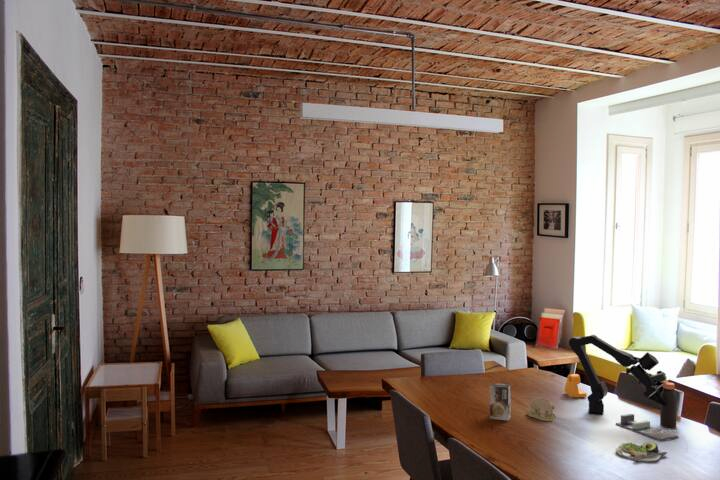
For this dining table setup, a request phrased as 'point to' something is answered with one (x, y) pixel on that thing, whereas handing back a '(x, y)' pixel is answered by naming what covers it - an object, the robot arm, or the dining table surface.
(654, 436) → the vise
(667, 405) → the vinegar
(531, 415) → the ceramic model
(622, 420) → the sliding jaw
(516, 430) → the dining table surface
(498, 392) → the coffee box
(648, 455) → the salad plate
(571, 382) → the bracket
